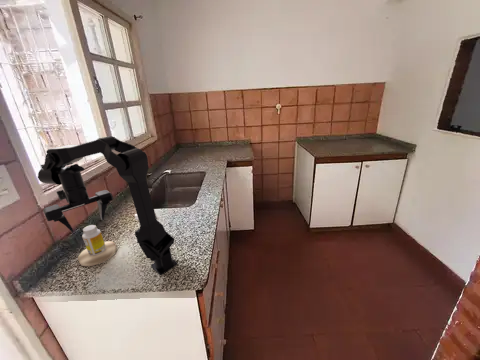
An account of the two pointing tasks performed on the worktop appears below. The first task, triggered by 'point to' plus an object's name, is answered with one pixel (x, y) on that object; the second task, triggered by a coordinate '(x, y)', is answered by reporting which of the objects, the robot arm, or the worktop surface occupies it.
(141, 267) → the worktop surface
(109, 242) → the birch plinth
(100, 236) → the supplement bottle
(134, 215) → the soap
